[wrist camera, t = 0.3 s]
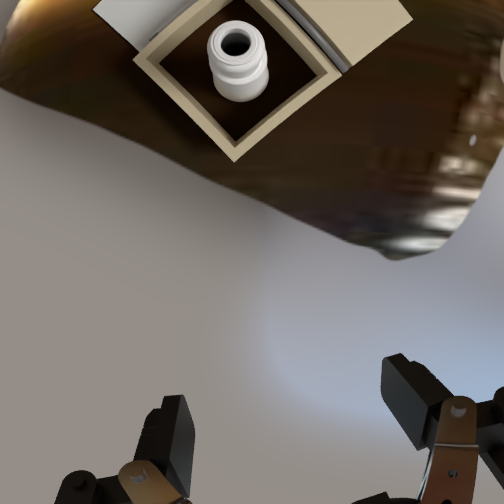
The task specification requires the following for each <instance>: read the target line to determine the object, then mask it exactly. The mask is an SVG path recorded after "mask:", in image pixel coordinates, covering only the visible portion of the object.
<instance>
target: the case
mask: <svg viewBox="0 0 504 504" xmlns="http://www.w3.org/2000/svg"><path fill="white" fill-rule="evenodd" d="M232 1H233V0H192V1H190V2H189V3H188V4H187V5H186V6H184V7H183V8H182V9H181V10H180V11H178V12H177V13H176V14H175V15H174V16H173V17H171V18H170V19H169V20H168V21H167V22H166V23H165V24H163V25H162V26H161V27H160V28H159V29H158V30H157V31H156V32H155V33H154V34H153V35H152V36H150V37H149V38H148V39H147V40H146V41H145V42H144V43H143V44H142V46H143V47H144V49H143V50H142V51H141V52H140V53H139V54H138V55H137V56H136V57H135V58H134V59H133V61H134V62H135V63H136V64H137V65H138V66H139V67H140V68H141V69H142V70H143V71H144V72H146V73H147V74H148V75H149V76H150V77H151V78H152V79H153V80H154V81H155V82H156V83H157V84H158V85H159V86H160V87H161V88H162V89H163V90H164V91H165V92H166V93H167V94H168V95H169V96H170V97H171V98H172V99H173V100H174V101H175V102H176V103H177V104H178V105H179V106H180V107H181V108H182V109H183V110H184V111H185V112H186V113H187V114H188V115H189V116H190V117H191V118H192V119H193V120H194V121H195V122H196V123H197V124H198V125H199V126H200V127H201V128H202V129H203V130H204V131H205V132H206V133H207V135H208V136H209V137H210V138H211V139H212V140H213V141H214V142H215V143H216V144H217V145H218V146H219V147H220V148H221V149H222V150H223V151H224V152H225V153H226V154H227V155H228V156H229V158H230V159H231V160H232V161H233V162H235V161H236V160H237V159H238V158H239V157H241V156H242V155H243V154H244V153H245V152H246V151H248V150H249V149H250V148H251V147H252V146H253V145H255V144H256V143H257V142H258V141H259V140H261V139H262V138H263V137H264V136H265V135H266V134H268V133H269V132H270V131H271V130H273V129H274V128H275V127H276V126H277V125H279V124H280V123H281V122H282V121H284V120H285V119H286V118H287V117H288V116H290V115H291V114H292V113H293V112H295V111H296V110H297V109H299V108H300V107H301V106H302V105H304V104H305V103H306V102H307V101H309V100H310V99H311V98H313V97H314V96H315V95H316V94H318V93H319V92H320V91H322V90H323V89H324V88H326V87H327V86H328V85H330V84H331V83H332V82H334V81H335V80H336V79H338V78H339V77H340V76H342V75H341V73H340V72H339V71H338V70H337V69H336V67H335V66H334V65H333V64H332V62H331V61H330V60H329V59H328V58H327V57H326V55H325V54H324V53H323V52H322V51H321V50H320V48H319V47H318V46H317V45H316V44H315V43H314V42H313V41H312V39H311V38H310V37H309V36H308V35H307V34H306V33H305V32H304V31H303V30H302V29H301V28H300V26H299V25H298V24H297V23H296V22H295V21H294V20H293V19H292V18H291V17H290V16H289V15H288V14H287V13H286V12H285V11H284V10H283V9H282V8H281V7H280V6H279V5H278V4H277V3H276V2H275V1H274V0H245V1H246V2H247V3H248V4H249V5H250V6H251V7H252V8H253V9H254V10H256V11H257V12H258V13H259V14H260V15H261V16H262V17H263V18H264V19H265V20H266V21H267V22H268V23H269V24H270V25H271V26H272V27H273V28H274V29H275V30H276V31H277V32H278V33H279V34H280V35H281V36H282V37H283V38H284V40H285V41H286V42H287V43H288V44H289V45H290V46H291V47H292V48H293V49H294V50H295V51H296V52H297V54H298V55H299V56H300V57H301V58H302V59H303V60H304V61H305V62H306V64H307V65H308V66H309V67H310V68H311V69H312V71H313V72H314V73H315V74H316V75H317V76H316V77H315V78H314V79H312V80H311V81H310V82H309V83H307V84H306V85H305V86H303V87H302V88H301V89H299V90H298V91H297V92H296V93H294V94H293V95H292V96H290V97H289V98H288V99H287V100H285V101H284V102H283V103H282V104H280V105H279V106H278V107H277V108H275V109H274V110H273V111H272V112H271V113H269V114H268V115H267V116H266V117H264V118H263V119H262V120H261V121H260V122H258V123H257V124H256V125H255V126H254V127H253V128H251V129H250V130H249V131H248V132H247V133H245V134H244V135H243V136H242V137H241V138H240V139H239V140H237V141H235V140H234V139H233V138H232V137H231V136H230V135H229V134H228V133H227V132H226V131H225V130H224V128H223V127H222V126H221V125H220V124H219V123H218V122H217V121H216V120H215V119H214V118H213V117H212V116H211V115H210V114H209V113H208V112H207V111H206V110H205V109H204V108H203V107H202V106H201V105H200V104H199V103H198V102H197V101H196V100H195V99H194V98H193V97H192V96H191V95H190V94H189V93H188V92H187V91H186V90H185V89H184V88H183V87H182V86H181V85H180V84H179V83H178V82H177V81H176V80H175V79H174V78H173V77H172V76H171V75H170V74H169V73H168V72H167V71H166V70H165V69H164V68H163V67H162V66H161V65H160V64H159V62H160V61H161V60H162V59H164V58H165V57H166V56H167V55H168V54H169V53H170V52H171V51H172V50H173V49H174V48H175V47H177V46H178V45H179V44H180V43H181V42H182V41H183V40H184V39H186V38H187V37H188V36H189V35H190V34H191V33H192V32H194V31H195V30H196V29H197V28H198V27H200V26H201V25H202V24H203V23H204V22H206V21H207V20H208V19H209V18H211V17H212V16H213V15H214V14H216V13H217V12H218V11H220V10H221V9H222V8H224V7H225V6H226V5H227V4H229V3H230V2H232ZM277 1H278V2H279V3H280V4H281V5H282V6H283V7H284V8H285V9H286V10H287V11H288V12H289V13H290V14H291V15H292V16H293V17H294V18H295V19H296V20H297V21H298V22H299V23H300V24H301V26H302V27H303V28H304V29H305V30H306V31H307V32H308V33H309V34H310V35H311V36H312V37H313V39H314V40H315V41H316V42H317V43H318V44H319V45H320V46H321V48H322V49H323V50H324V51H325V52H326V53H327V54H328V56H329V57H330V58H331V59H332V60H333V62H334V63H335V64H336V65H337V66H338V68H339V69H340V70H341V71H342V73H344V72H346V71H347V70H348V69H349V68H348V67H347V65H346V64H345V63H344V62H343V60H342V59H341V58H340V57H339V56H338V54H337V53H336V52H335V51H334V50H333V48H332V47H331V46H330V45H329V44H328V43H327V41H326V40H325V39H324V38H323V37H322V36H321V35H320V34H319V32H318V31H317V30H316V29H315V28H314V27H313V26H312V25H311V24H310V23H309V22H308V21H307V19H306V18H305V17H304V16H303V15H302V14H301V13H300V12H299V11H298V10H297V9H296V8H295V7H294V6H293V5H292V4H291V3H290V2H289V1H288V0H277Z"/></svg>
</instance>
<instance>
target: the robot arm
mask: <svg viewBox="0 0 504 504" xmlns="http://www.w3.org/2000/svg"><path fill="white" fill-rule="evenodd" d="M381 395H382V398H383V400H384V402H385V403H386V405H387V406H388V408H389V409H390V411H391V412H392V414H393V415H394V417H395V418H396V419H397V421H398V422H399V424H400V425H401V427H402V428H403V430H404V431H405V433H406V434H407V436H408V437H409V439H410V440H411V442H412V443H413V445H414V446H415V448H416V449H417V451H419V450H421V449H424V448H426V447H428V448H429V450H430V452H429V455H428V459H427V463H426V467H425V470H424V474H423V478H422V481H421V485H420V488H419V491H418V494H417V497H416V499H412V498H389V497H388V494H387V493H386V492H383V493H380V494H377V495H375V496H371V497H368V498H365V499H362V500H358V501H356V502H354V503H352V504H472V499H473V493H474V487H475V479H476V472H477V462H478V454H479V455H480V457H481V458H482V459H483V461H484V462H485V464H486V465H487V466H488V468H489V469H490V471H491V472H492V473H493V475H494V476H495V478H496V479H497V481H498V482H499V483H500V485H501V486H502V488H503V489H504V387H501V388H499V389H498V390H497V391H496V392H495V394H494V398H493V400H489V401H485V402H480V403H475V402H474V401H473V400H472V399H470V398H468V397H465V396H454V395H453V394H452V393H451V392H450V391H449V390H448V389H447V388H446V387H445V386H444V385H443V384H442V383H441V382H440V381H439V380H438V379H436V377H435V376H434V375H433V374H432V373H431V372H430V371H429V370H428V369H427V368H426V367H425V366H424V365H422V364H420V363H418V362H416V361H412V362H410V361H408V359H407V358H406V357H404V355H403V354H401V353H399V354H395V355H392V356H389V357H385V358H384V359H383V360H382V374H381ZM194 443H195V428H194V424H193V420H192V417H191V414H190V411H189V408H188V405H187V402H186V400H185V397H184V395H171V396H164V398H163V402H162V405H161V408H160V409H159V408H158V409H153V410H152V411H151V412H150V413H149V414H148V416H147V417H146V419H145V422H144V428H143V429H142V432H141V436H140V439H139V443H138V445H137V449H136V453H135V456H134V459H133V461H132V462H129V463H127V464H126V465H124V466H123V467H122V468H121V470H120V471H119V474H118V475H115V476H111V477H105V478H100V479H96V477H95V476H94V475H93V474H92V473H91V472H88V471H84V470H79V471H74V472H72V473H70V474H69V475H67V476H66V477H65V478H64V480H63V481H62V484H61V487H60V489H59V492H58V495H57V497H56V501H55V503H54V504H192V503H191V502H190V501H189V500H188V499H187V498H189V496H190V485H191V473H192V462H193V453H194ZM184 498H185V499H184Z"/></svg>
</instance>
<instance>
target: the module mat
mask: <svg viewBox="0 0 504 504" xmlns="http://www.w3.org/2000/svg"><path fill="white" fill-rule="evenodd" d="M190 1H192V0H102V1H101V2H100V3H99V4H98V5H97V6H96V7H95V8H94V9H93V10H94V11H95V12H96V13H97V14H98V15H100V16H101V17H102V18H103V19H104V20H105V21H106V22H107V23H109V24H110V25H111V26H112V27H113V28H114V29H115V30H116V31H117V32H119V33H120V34H121V35H122V36H123V37H124V38H125V39H126V40H127V41H128V42H129V43H131V44H132V45H133V46H134V47H135V48H136V49H137V50H138V51H139V52H141V51H142V50H143V49H144V47H143V46H142V44H143V43H144V42H145V41H146V40H147V39H148V38H149V37H150V36H152V35H153V34H154V33H155V32H156V31H157V30H158V29H159V28H160V27H161V26H162V25H163V24H165V23H166V22H167V21H168V20H169V19H170V18H171V17H173V16H174V15H175V14H176V13H177V12H178V11H180V10H181V9H182V8H183V7H184V6H186V5H187V4H188V3H189V2H190Z"/></svg>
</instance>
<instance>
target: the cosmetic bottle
mask: <svg viewBox="0 0 504 504" xmlns="http://www.w3.org/2000/svg"><path fill="white" fill-rule="evenodd" d="M207 52H208V55H209V64H210V68H211V70H212V73H213V81H214V85H215V87H216V89H217V90H218V92H219V93H220V94H221V95H222V96H224V97H225V98H227V99H229V100H232V101H236V102H245V101H250V100H252V99H254V98H256V97H258V96H259V95H260V94H261V93H262V92H263V91H264V90H265V88H266V86H267V84H268V80H269V72H268V68H267V54H266V50H265V43H264V39H263V37H262V35H261V33H260V32H259V31H258V30H257V29H256V28H255V27H254V26H252V25H250V24H248V23H246V22H243V21H229V22H226V23H223V24H222V25H220V26H219V27H218V28H216V29H215V30H214V31H213V33H212V34H211V36H210V38H209V40H208V44H207Z"/></svg>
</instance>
